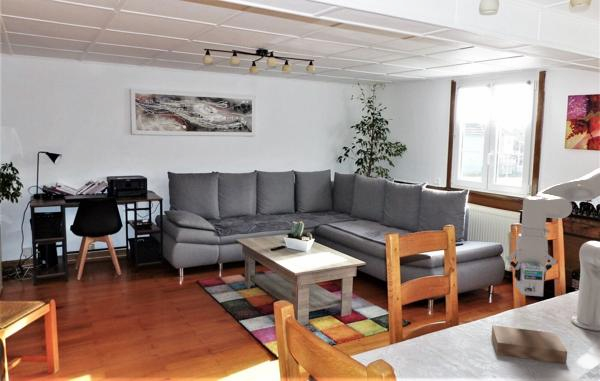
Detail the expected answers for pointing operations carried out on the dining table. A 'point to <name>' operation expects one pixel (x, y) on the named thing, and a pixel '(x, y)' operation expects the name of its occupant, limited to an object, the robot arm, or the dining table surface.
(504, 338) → the block
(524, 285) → the light bulb box
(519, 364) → the dining table surface
